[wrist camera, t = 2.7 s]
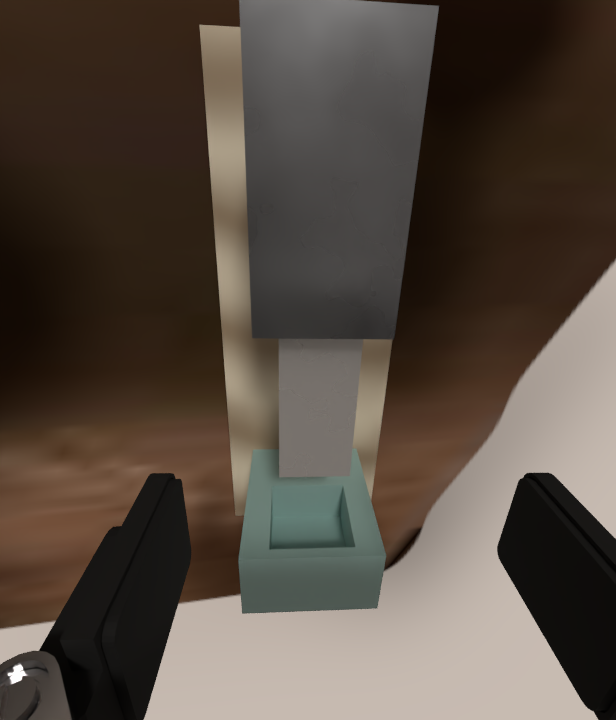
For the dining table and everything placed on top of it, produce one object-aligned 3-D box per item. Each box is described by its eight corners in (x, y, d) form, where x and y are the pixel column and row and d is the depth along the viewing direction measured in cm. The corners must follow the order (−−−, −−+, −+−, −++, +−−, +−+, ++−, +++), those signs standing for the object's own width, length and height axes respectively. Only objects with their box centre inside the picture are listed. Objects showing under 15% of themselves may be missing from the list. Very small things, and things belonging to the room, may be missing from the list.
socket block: (253, 449, 24) (238, 559, 17) (356, 448, 25) (386, 555, 17) (255, 494, 26) (242, 613, 18) (351, 493, 26) (377, 608, 19)
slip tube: (279, 55, 13) (277, 12, 10) (369, 60, 13) (394, 20, 10) (280, 434, 19) (279, 477, 16) (340, 434, 19) (349, 476, 16)
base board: (206, 39, 16) (199, 24, 15) (420, 51, 17) (432, 39, 16) (237, 500, 28) (235, 515, 27) (365, 497, 28) (369, 512, 27)
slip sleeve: (260, 86, 16) (239, -8, 9) (371, 91, 16) (439, 5, 9) (264, 286, 20) (251, 338, 12) (355, 288, 20) (394, 339, 13)
